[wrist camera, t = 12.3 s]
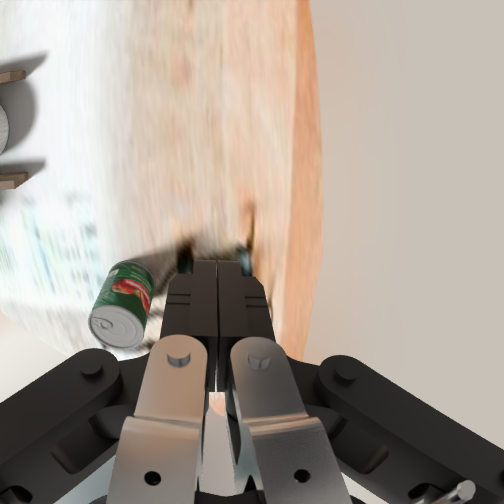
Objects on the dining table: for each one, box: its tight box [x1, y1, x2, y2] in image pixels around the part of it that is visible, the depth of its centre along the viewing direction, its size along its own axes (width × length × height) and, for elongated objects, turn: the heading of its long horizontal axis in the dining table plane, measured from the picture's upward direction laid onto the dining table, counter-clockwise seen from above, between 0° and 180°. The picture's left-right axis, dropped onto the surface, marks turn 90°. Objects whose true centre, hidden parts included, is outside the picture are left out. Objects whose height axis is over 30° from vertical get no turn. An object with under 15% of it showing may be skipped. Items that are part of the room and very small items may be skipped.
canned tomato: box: [88, 261, 155, 350], centre depth 43 cm, size 8×8×11 cm
